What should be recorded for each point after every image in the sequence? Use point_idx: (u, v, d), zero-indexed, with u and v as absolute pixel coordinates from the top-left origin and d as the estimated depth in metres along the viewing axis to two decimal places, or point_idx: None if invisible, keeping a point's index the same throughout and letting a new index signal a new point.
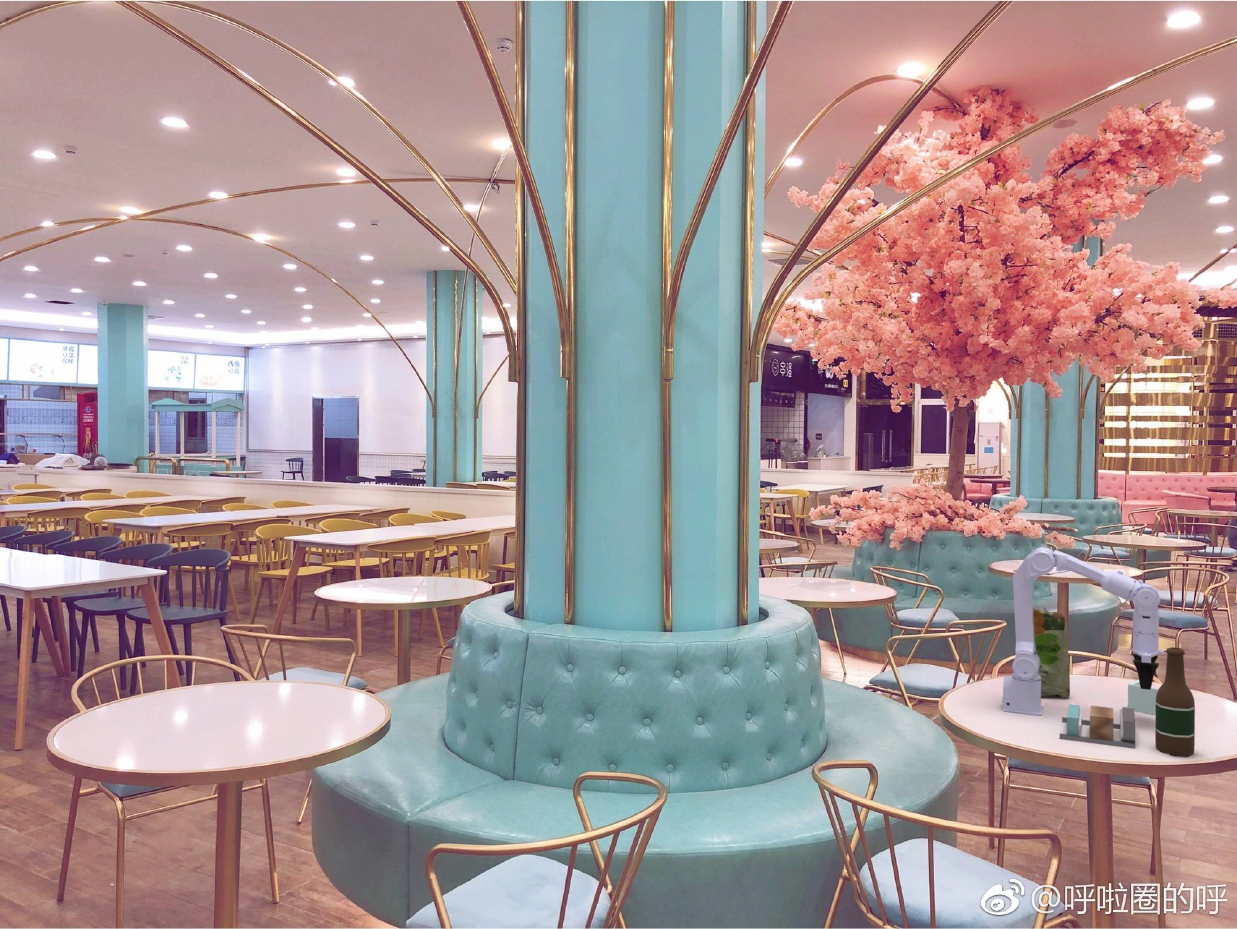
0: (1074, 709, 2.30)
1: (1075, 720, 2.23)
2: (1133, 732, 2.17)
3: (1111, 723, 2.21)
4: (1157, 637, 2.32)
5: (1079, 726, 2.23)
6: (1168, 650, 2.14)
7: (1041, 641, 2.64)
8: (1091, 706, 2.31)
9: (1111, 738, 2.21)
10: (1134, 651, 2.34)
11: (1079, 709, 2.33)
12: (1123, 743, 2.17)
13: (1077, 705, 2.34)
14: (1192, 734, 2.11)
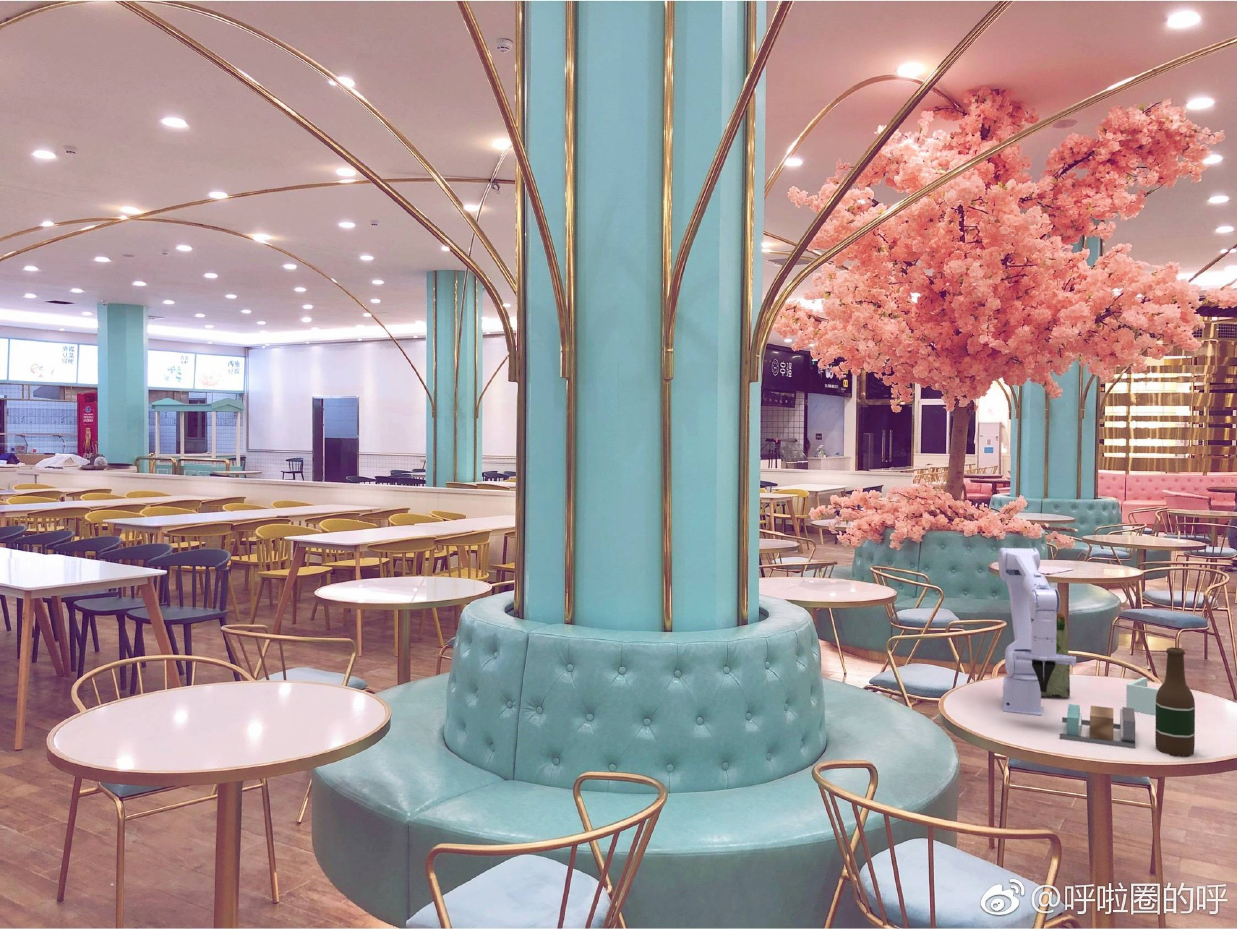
0: (1074, 709, 2.30)
1: (1075, 720, 2.23)
2: (1133, 732, 2.17)
3: (1111, 723, 2.21)
4: (1038, 641, 2.30)
5: (1079, 726, 2.23)
6: (1168, 650, 2.14)
7: None
8: (1091, 706, 2.31)
9: (1111, 738, 2.21)
10: None
11: (1079, 709, 2.33)
12: (1123, 743, 2.17)
13: (1077, 705, 2.34)
14: (1192, 734, 2.11)
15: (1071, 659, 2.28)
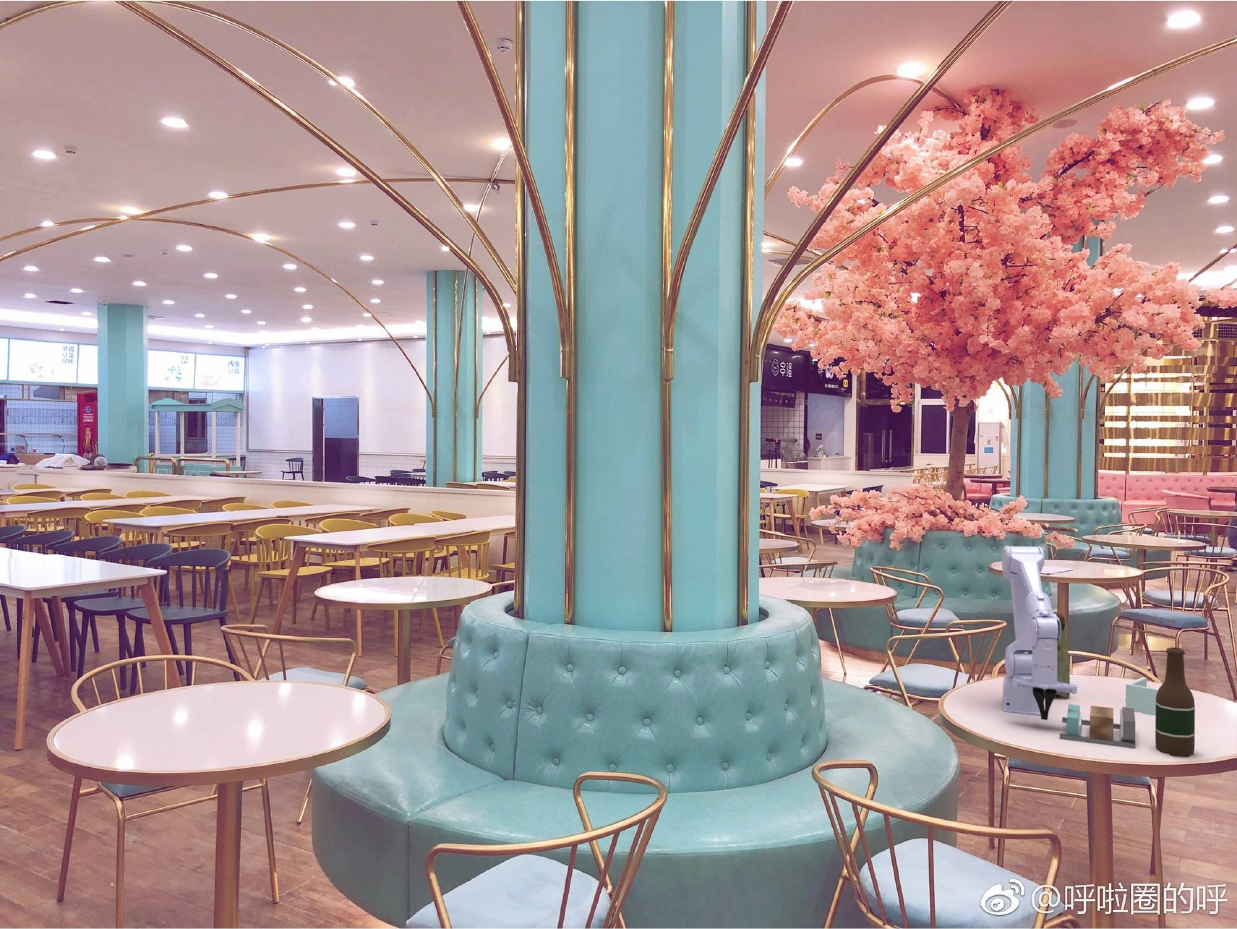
0: (1074, 709, 2.30)
1: (1075, 720, 2.23)
2: (1133, 732, 2.17)
3: (1111, 723, 2.21)
4: (1039, 669, 2.30)
5: (1079, 726, 2.23)
6: (1168, 650, 2.14)
7: None
8: (1091, 706, 2.31)
9: (1111, 738, 2.21)
10: None
11: (1079, 709, 2.33)
12: (1123, 743, 2.17)
13: (1077, 705, 2.34)
14: (1192, 734, 2.11)
15: (1072, 687, 2.28)
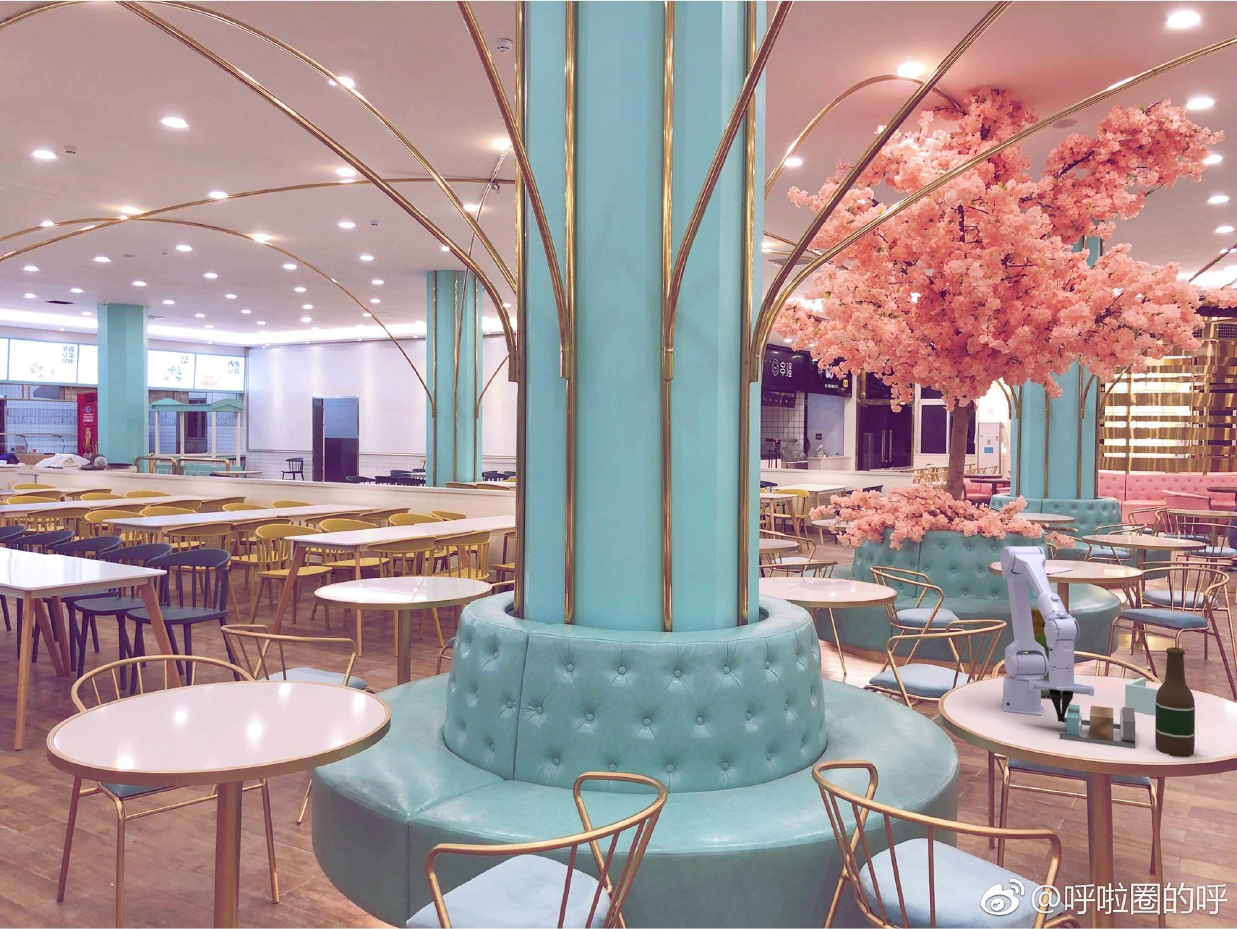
0: (1074, 709, 2.30)
1: (1075, 720, 2.23)
2: (1133, 732, 2.17)
3: (1111, 723, 2.21)
4: (1055, 671, 2.28)
5: (1079, 726, 2.23)
6: (1168, 650, 2.14)
7: (1041, 641, 2.64)
8: (1091, 706, 2.31)
9: (1111, 738, 2.21)
10: None
11: (1079, 709, 2.33)
12: (1123, 743, 2.17)
13: (1077, 705, 2.34)
14: (1192, 734, 2.11)
15: (1089, 689, 2.26)
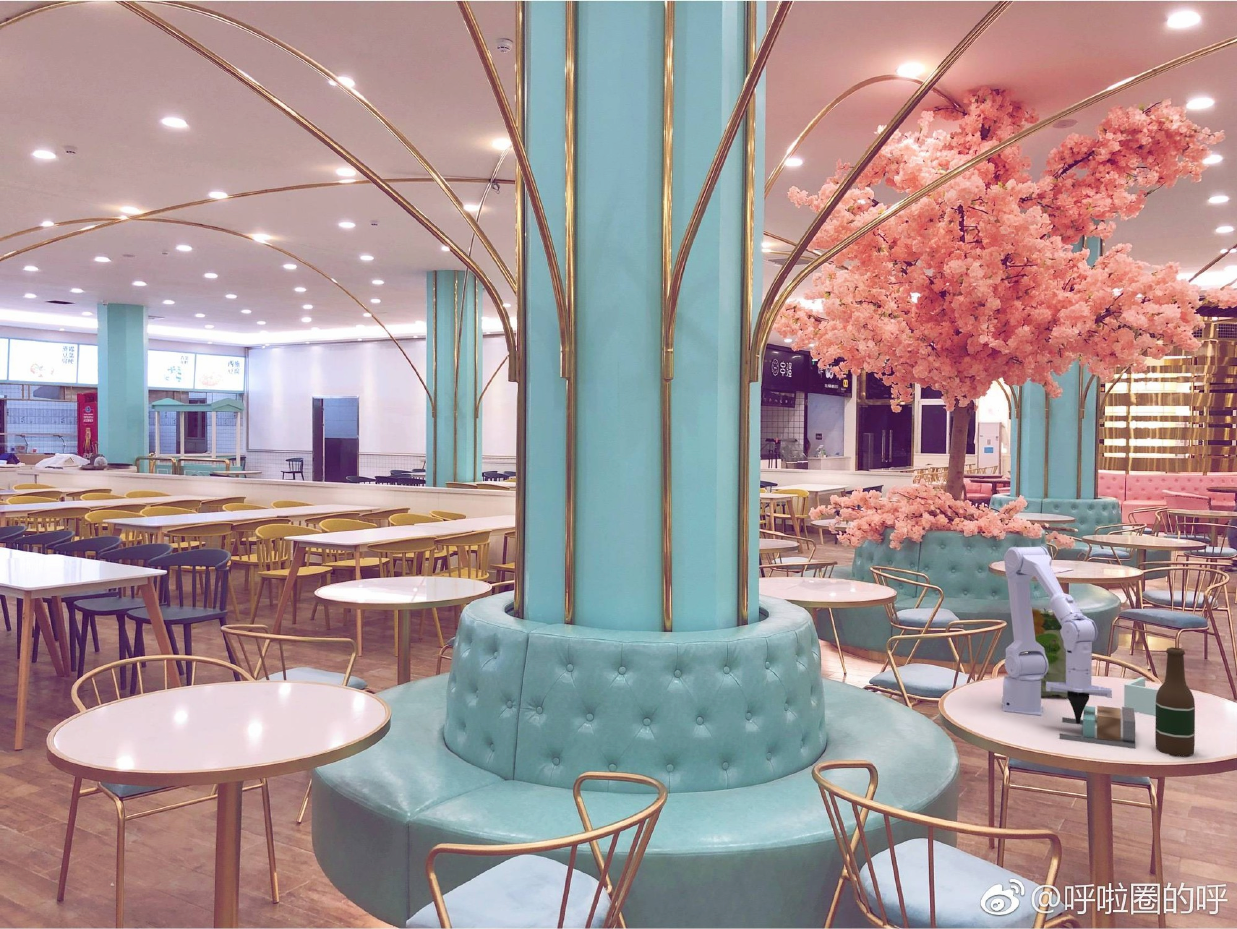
0: (1090, 711, 2.29)
1: (1092, 722, 2.21)
2: (1133, 732, 2.17)
3: (1118, 723, 2.20)
4: (1073, 673, 2.27)
5: (1095, 728, 2.21)
6: (1168, 650, 2.14)
7: (1041, 641, 2.64)
8: (1098, 706, 2.30)
9: (1118, 738, 2.20)
10: None
11: None
12: (1123, 743, 2.17)
13: (1093, 707, 2.32)
14: (1192, 734, 2.11)
15: (1107, 691, 2.25)
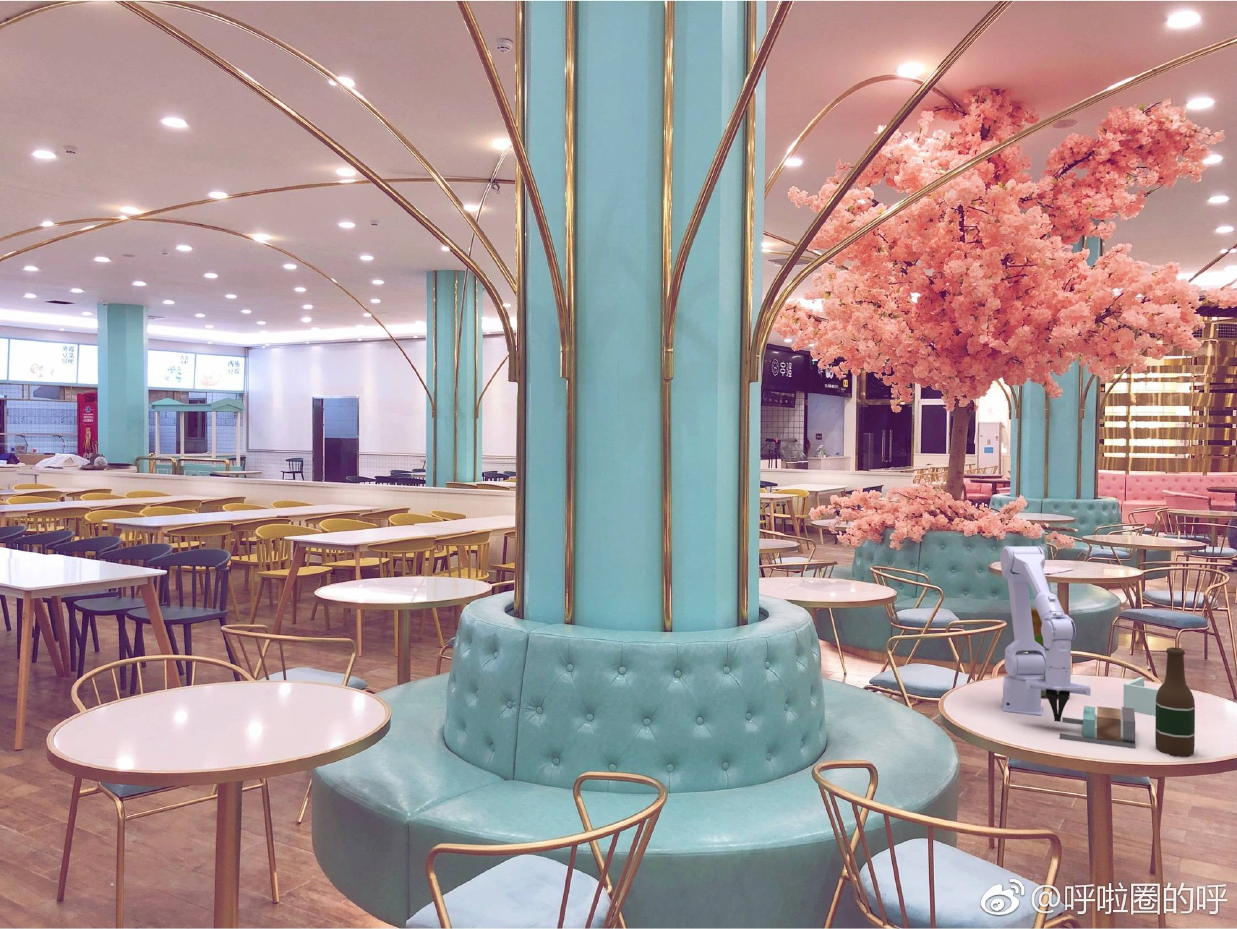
0: (1090, 711, 2.29)
1: (1091, 722, 2.21)
2: (1133, 732, 2.17)
3: (1118, 724, 2.20)
4: (1052, 671, 2.29)
5: (1095, 728, 2.21)
6: (1168, 650, 2.14)
7: (1041, 641, 2.64)
8: (1098, 707, 2.30)
9: (1118, 739, 2.20)
10: None
11: None
12: (1123, 743, 2.17)
13: (1092, 707, 2.32)
14: (1192, 734, 2.11)
15: (1086, 689, 2.27)
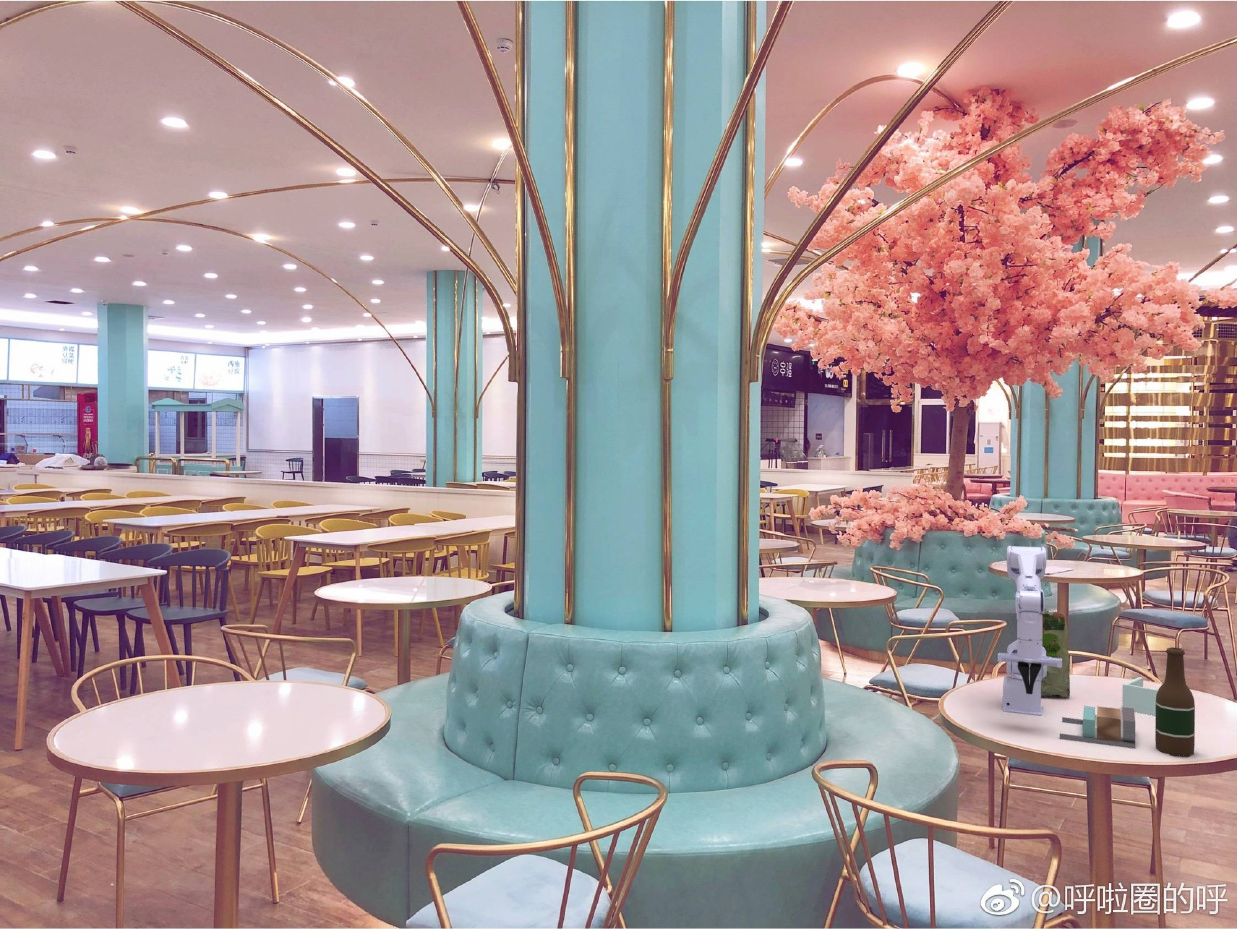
0: (1090, 711, 2.29)
1: (1091, 722, 2.21)
2: (1133, 732, 2.17)
3: (1118, 724, 2.20)
4: (1023, 643, 2.28)
5: (1095, 728, 2.21)
6: (1168, 650, 2.14)
7: None
8: (1098, 707, 2.30)
9: (1118, 739, 2.20)
10: None
11: None
12: (1123, 743, 2.17)
13: (1092, 707, 2.32)
14: (1192, 734, 2.11)
15: (1057, 661, 2.26)
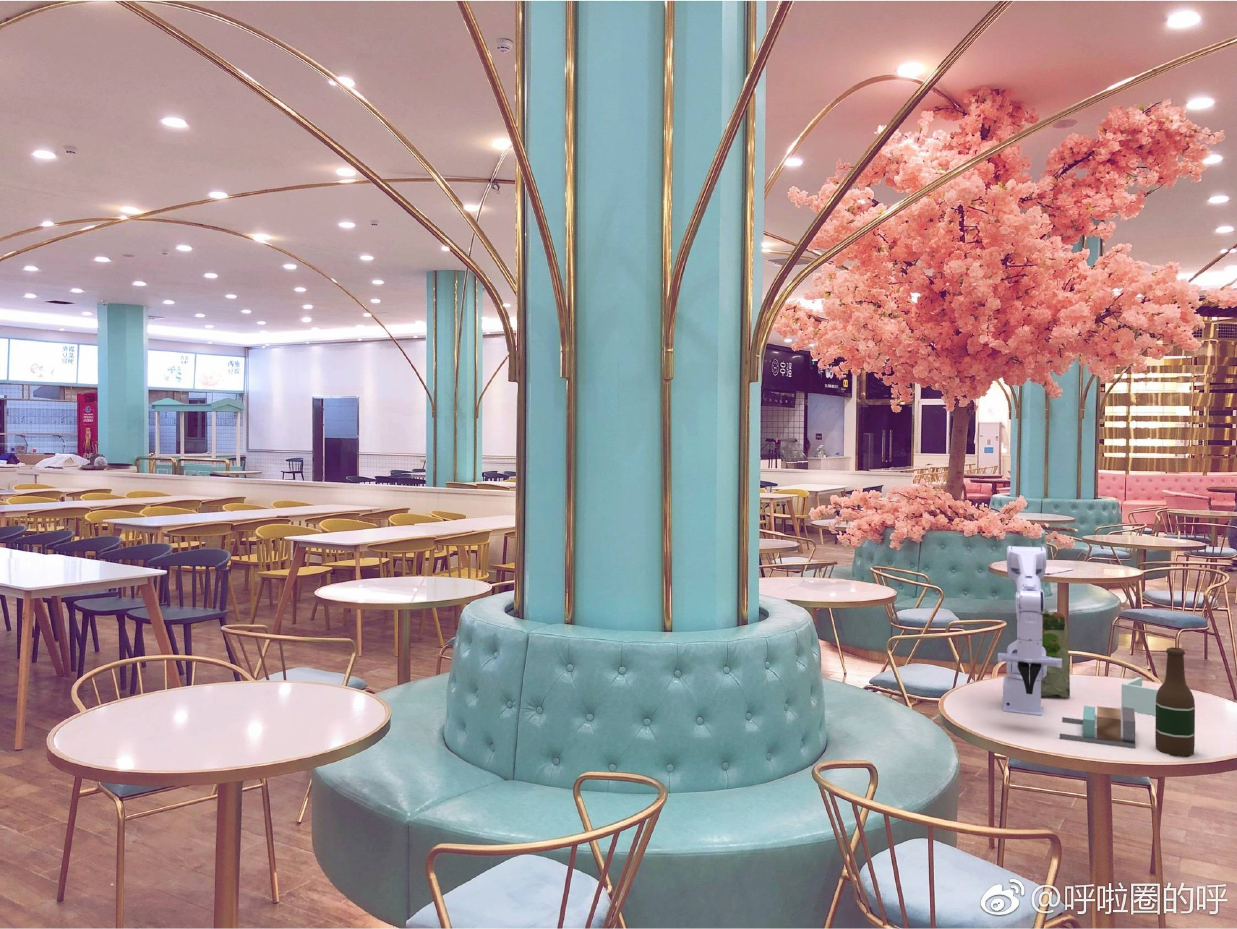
0: (1090, 711, 2.29)
1: (1091, 722, 2.21)
2: (1133, 732, 2.17)
3: (1118, 724, 2.20)
4: (1023, 643, 2.28)
5: (1095, 728, 2.21)
6: (1168, 650, 2.14)
7: None
8: (1098, 707, 2.30)
9: (1118, 739, 2.20)
10: None
11: None
12: (1123, 743, 2.17)
13: (1092, 707, 2.32)
14: (1192, 734, 2.11)
15: (1057, 661, 2.26)
